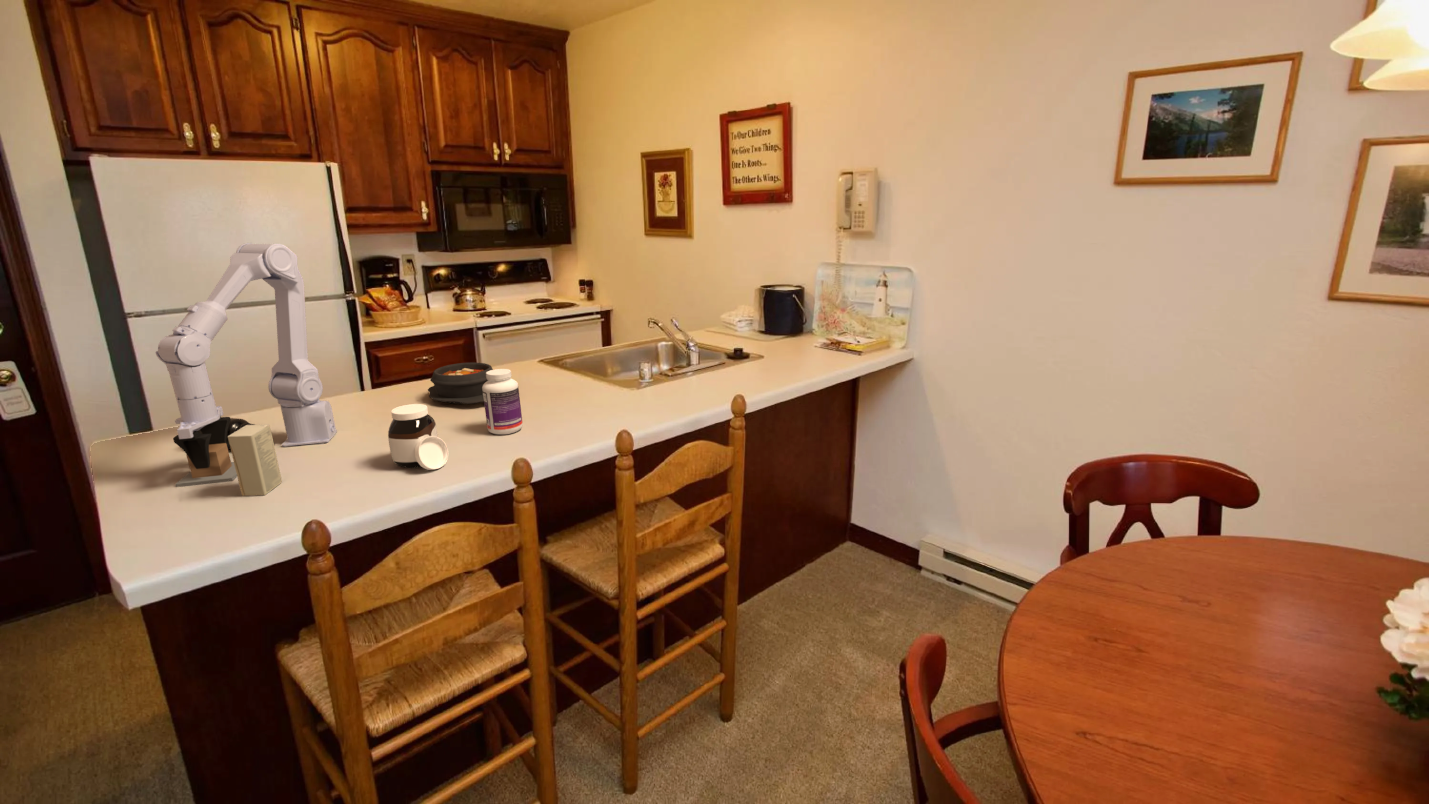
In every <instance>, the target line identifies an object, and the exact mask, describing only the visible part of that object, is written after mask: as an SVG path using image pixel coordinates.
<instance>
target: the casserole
mask: <svg viewBox="0 0 1429 804" xmlns="http://www.w3.org/2000/svg"><path fill="white" fill-rule="evenodd" d="M490 370H494V369H493V366H491V364H489V363H484V362H461V363H460V362H459V363H453V364H447V365H443V366H440V367H438V368H436V369H434V370H433V372H432V376H431V377H430V382H431V383H433V385H432V386H430V387H428V389H427V391H428V393H429V395H428V396H429V397H430V399H432V400H435V401H438V402H444V403H449V404H465V405H466V404H467V405H471V404H473V405H474V404H479V403H484V398H483V390H482V387H483V385H484V383H485V382H487V381H488V380H487V378H486V372H488V371H490Z"/></svg>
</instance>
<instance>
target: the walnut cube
mask: <svg viewBox="0 0 1429 804" xmlns="http://www.w3.org/2000/svg"><path fill="white" fill-rule="evenodd" d="M185 455H186V459H187V463H188V466H189V470H190V471H191V474H192V478H200V477H209V476H219V475H223V474H224V473H225V472H226V471H227V470H228V469H229V468H230V467H231V466H232V464H231V462H232V461H231V458H230V452H229V449H228V448H227V444H226V443H222V444H211V445H209V457H210V467H209V468H202V469H196V468H195V466H194V465H193V463H192V462H191V460H190V458H189V457H188V455H187V454H186V453H185Z"/></svg>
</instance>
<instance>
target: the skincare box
mask: <svg viewBox="0 0 1429 804" xmlns="http://www.w3.org/2000/svg"><path fill="white" fill-rule="evenodd" d="M273 438H274V437H273V434H272V430H271V425H270V424H255V425H246V426H244V427H242V428H241V429H239V430H237V431H236V432H234V433H232V434H231V435H229V436H228V440H229V444H230V448H231V449H230V452H231V456H232V460H233V461H232V462H234V465H235V469H236V473H237V477H236V478H237V480H238V481H237V482H238V485H239V486H238V487H239V490H240V493H241V496H242V497H250V496H251V497H253V496H266V495H267V494H268V493H270V492H271V491H272V490H274V489H275V488H276V487H278V486H279V485H280V484H281V483H282V482H283V479H282V476H281V475H282V474H281V471H280V470H281V469H280V466H279V462H278V457H277V452H276V448H275V444H274V439H273Z"/></svg>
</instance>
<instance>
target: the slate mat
mask: <svg viewBox="0 0 1429 804" xmlns="http://www.w3.org/2000/svg"><path fill="white" fill-rule="evenodd" d="M231 464H232V466H231V467H230V468H229V469H228V470H227V471H226V472H225V473H224V474H223V475H219V476H209V477H200V478H192V474H191V470H190V471H189V472H188V473H187V474H185V475H184V476H183V477H182V478H180V479H179V480H178V481H177V482H176V483H174V484H175V487H176V488H179V487H186V486H189V487H190V486H196V485H206V484H215V483H216V484H217V483H226V482H227V483H228V482H233V481H234V480H235V479H236V478H238V477H237V473H236V469H235V465H234V461H231Z"/></svg>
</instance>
